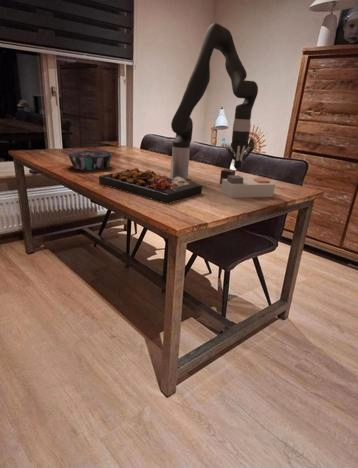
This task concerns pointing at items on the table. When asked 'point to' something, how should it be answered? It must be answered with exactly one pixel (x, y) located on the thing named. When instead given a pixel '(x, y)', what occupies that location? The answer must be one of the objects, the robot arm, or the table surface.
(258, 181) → the terracotta key
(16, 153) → the table surface
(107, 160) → the decorative bowl
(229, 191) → the key panel
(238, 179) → the charcoal key
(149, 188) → the food platter
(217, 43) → the robot arm
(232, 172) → the box
